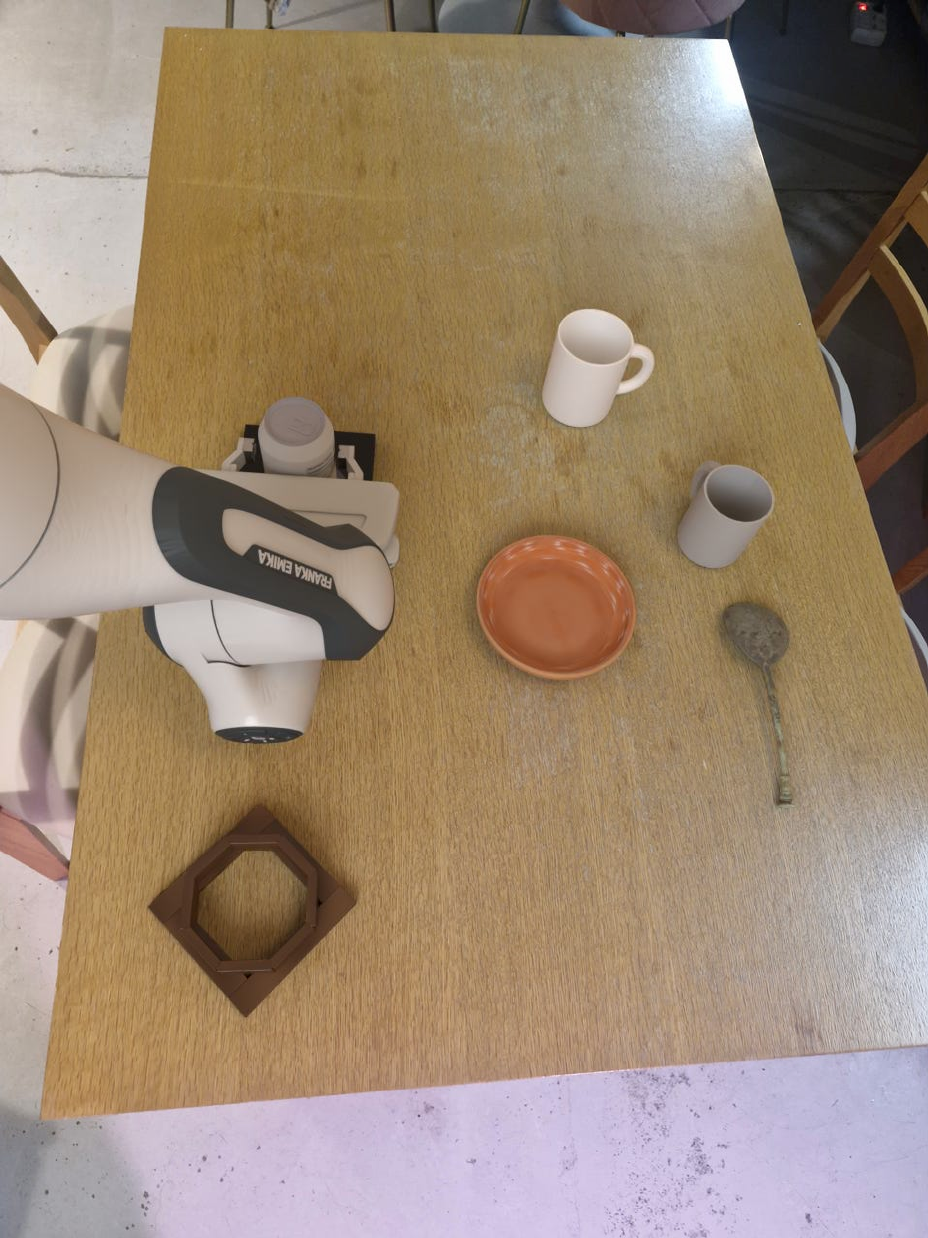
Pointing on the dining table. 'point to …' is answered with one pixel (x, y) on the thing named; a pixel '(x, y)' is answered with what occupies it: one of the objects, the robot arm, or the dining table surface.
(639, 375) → the mug
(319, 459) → the beverage can
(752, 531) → the cup
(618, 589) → the saucer
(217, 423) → the dining table surface
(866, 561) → the dining table surface
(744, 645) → the soupspoon
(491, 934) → the dining table surface
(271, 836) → the can holder
